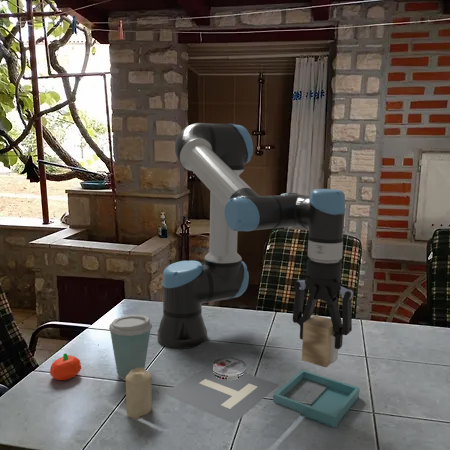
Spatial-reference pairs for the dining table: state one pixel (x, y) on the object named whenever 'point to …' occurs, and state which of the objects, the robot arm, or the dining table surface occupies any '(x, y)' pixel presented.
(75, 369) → the pumpkin
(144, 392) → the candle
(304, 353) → the wooden block
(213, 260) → the robot arm
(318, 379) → the tray
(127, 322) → the disposable coffee cup
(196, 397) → the board
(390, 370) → the dining table surface
